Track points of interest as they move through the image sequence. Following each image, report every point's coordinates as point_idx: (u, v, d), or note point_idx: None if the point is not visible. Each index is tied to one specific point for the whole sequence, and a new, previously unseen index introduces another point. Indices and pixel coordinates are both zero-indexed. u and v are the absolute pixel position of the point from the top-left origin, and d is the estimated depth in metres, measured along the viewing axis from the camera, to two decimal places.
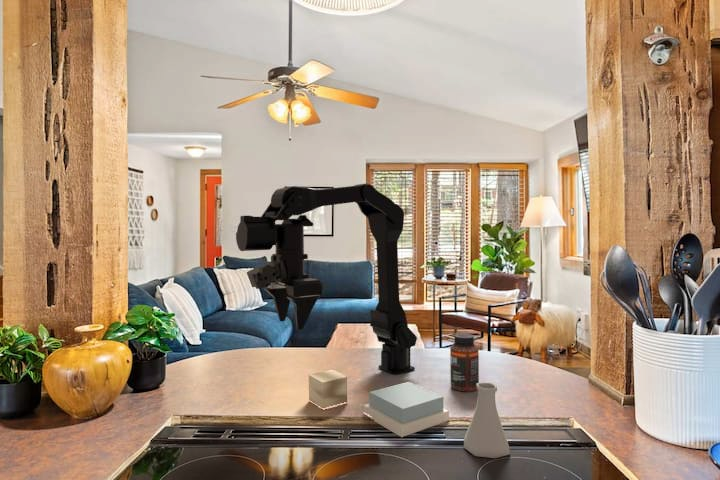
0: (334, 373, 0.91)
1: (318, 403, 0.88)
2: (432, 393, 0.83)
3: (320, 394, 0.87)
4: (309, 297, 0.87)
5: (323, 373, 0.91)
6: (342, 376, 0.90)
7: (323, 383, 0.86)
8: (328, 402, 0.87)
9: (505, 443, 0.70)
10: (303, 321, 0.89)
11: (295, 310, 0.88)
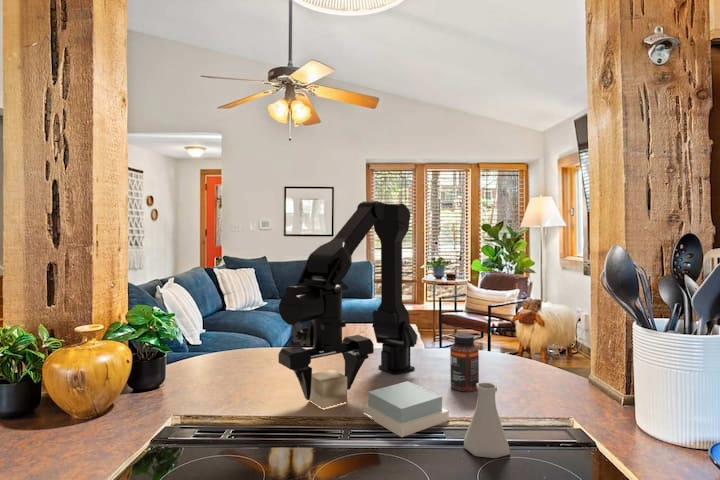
0: (334, 373, 0.91)
1: (318, 403, 0.88)
2: (431, 393, 0.84)
3: (320, 394, 0.87)
4: None
5: (323, 373, 0.91)
6: (342, 376, 0.90)
7: (323, 383, 0.86)
8: (328, 402, 0.87)
9: (505, 443, 0.70)
10: (305, 392, 0.87)
11: None
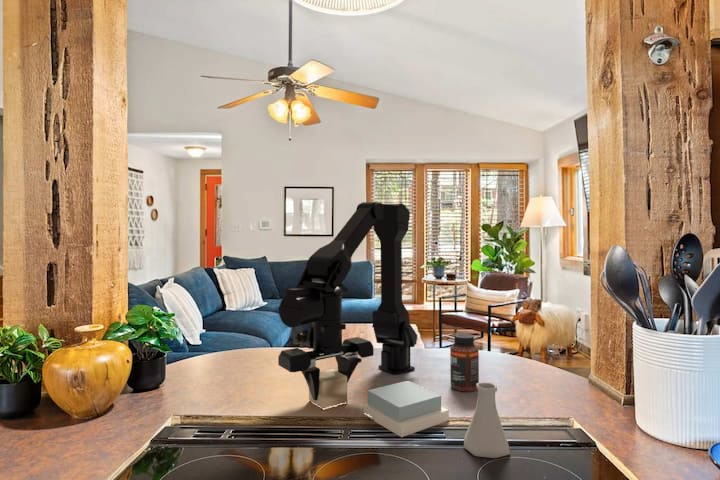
0: (334, 373, 0.91)
1: (318, 402, 0.88)
2: (430, 392, 0.84)
3: (320, 394, 0.87)
4: None
5: (323, 372, 0.91)
6: (342, 375, 0.90)
7: (323, 383, 0.86)
8: (328, 401, 0.87)
9: (505, 443, 0.70)
10: (312, 392, 0.88)
11: None
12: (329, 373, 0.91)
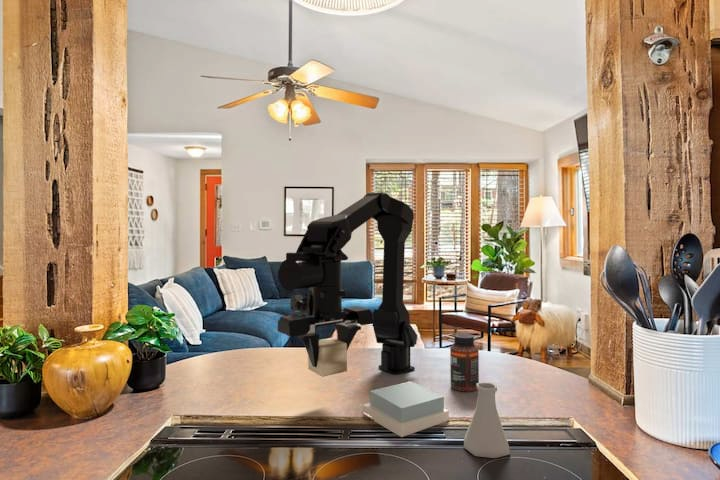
0: (333, 340, 0.91)
1: (317, 369, 0.87)
2: (433, 393, 0.83)
3: (320, 360, 0.87)
4: None
5: (323, 340, 0.91)
6: (341, 342, 0.89)
7: (323, 348, 0.86)
8: (327, 367, 0.87)
9: (505, 443, 0.70)
10: (312, 359, 0.87)
11: None
12: (328, 341, 0.91)
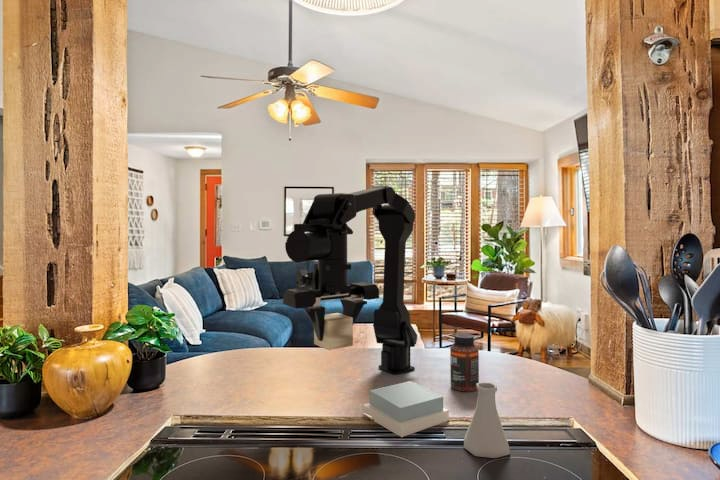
0: (339, 315, 0.90)
1: (323, 343, 0.87)
2: (432, 393, 0.83)
3: (326, 333, 0.86)
4: (305, 307, 0.85)
5: (328, 315, 0.90)
6: (347, 316, 0.89)
7: (329, 322, 0.85)
8: (333, 341, 0.86)
9: (505, 443, 0.70)
10: (318, 332, 0.87)
11: None
12: (334, 315, 0.90)
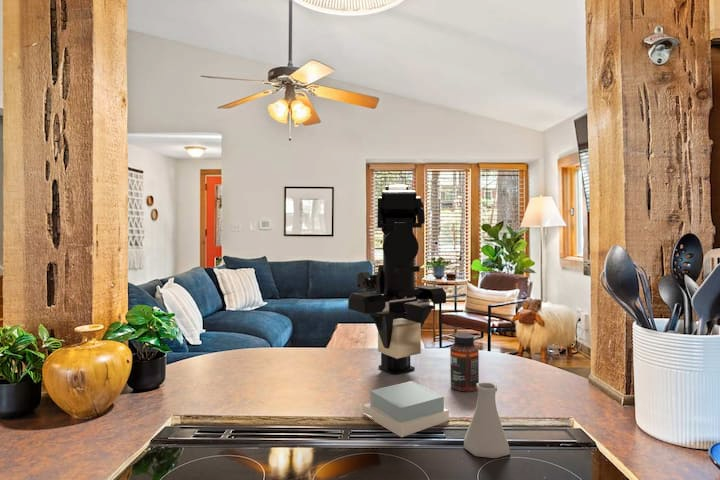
0: (405, 320, 0.84)
1: (390, 351, 0.81)
2: (433, 393, 0.83)
3: (394, 341, 0.80)
4: (372, 312, 0.79)
5: (393, 320, 0.84)
6: (414, 322, 0.83)
7: (397, 328, 0.79)
8: (402, 349, 0.80)
9: (505, 443, 0.70)
10: (384, 339, 0.81)
11: None
12: (400, 321, 0.84)
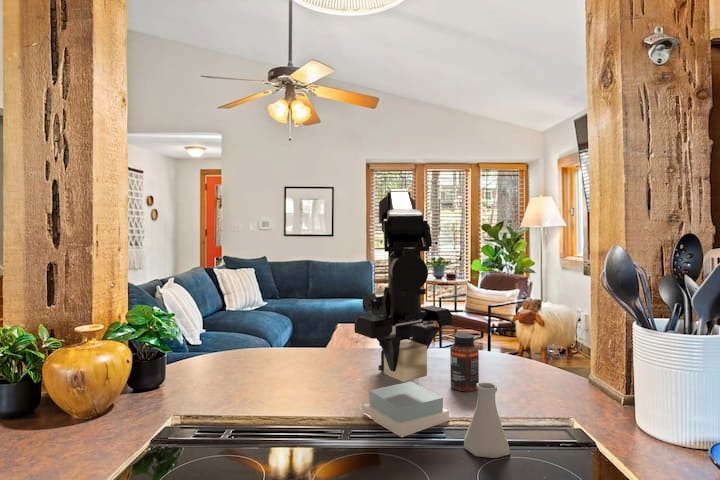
0: (411, 342, 0.84)
1: (397, 374, 0.81)
2: (432, 394, 0.83)
3: (400, 364, 0.80)
4: None
5: None
6: (421, 345, 0.83)
7: (404, 351, 0.79)
8: (408, 372, 0.80)
9: (505, 443, 0.70)
10: (391, 362, 0.81)
11: None
12: (406, 343, 0.84)
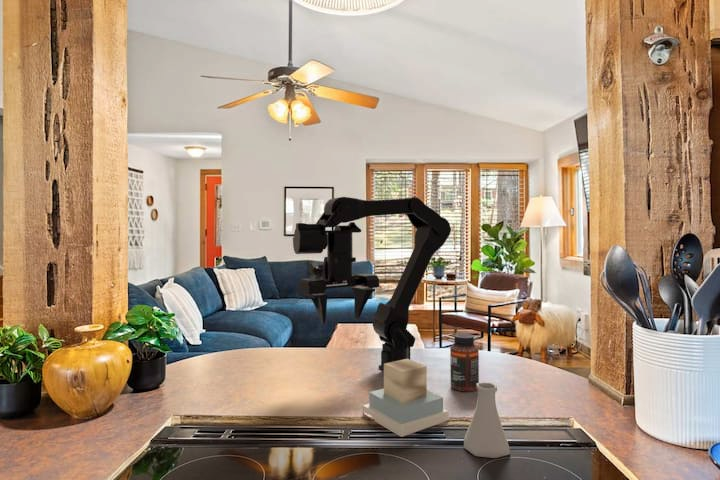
0: (411, 362, 0.84)
1: (396, 394, 0.81)
2: (432, 394, 0.83)
3: (399, 385, 0.80)
4: (310, 295, 0.99)
5: (399, 362, 0.84)
6: (420, 365, 0.83)
7: (403, 373, 0.79)
8: (407, 393, 0.80)
9: (505, 443, 0.70)
10: (321, 316, 1.01)
11: None
12: (405, 363, 0.84)
